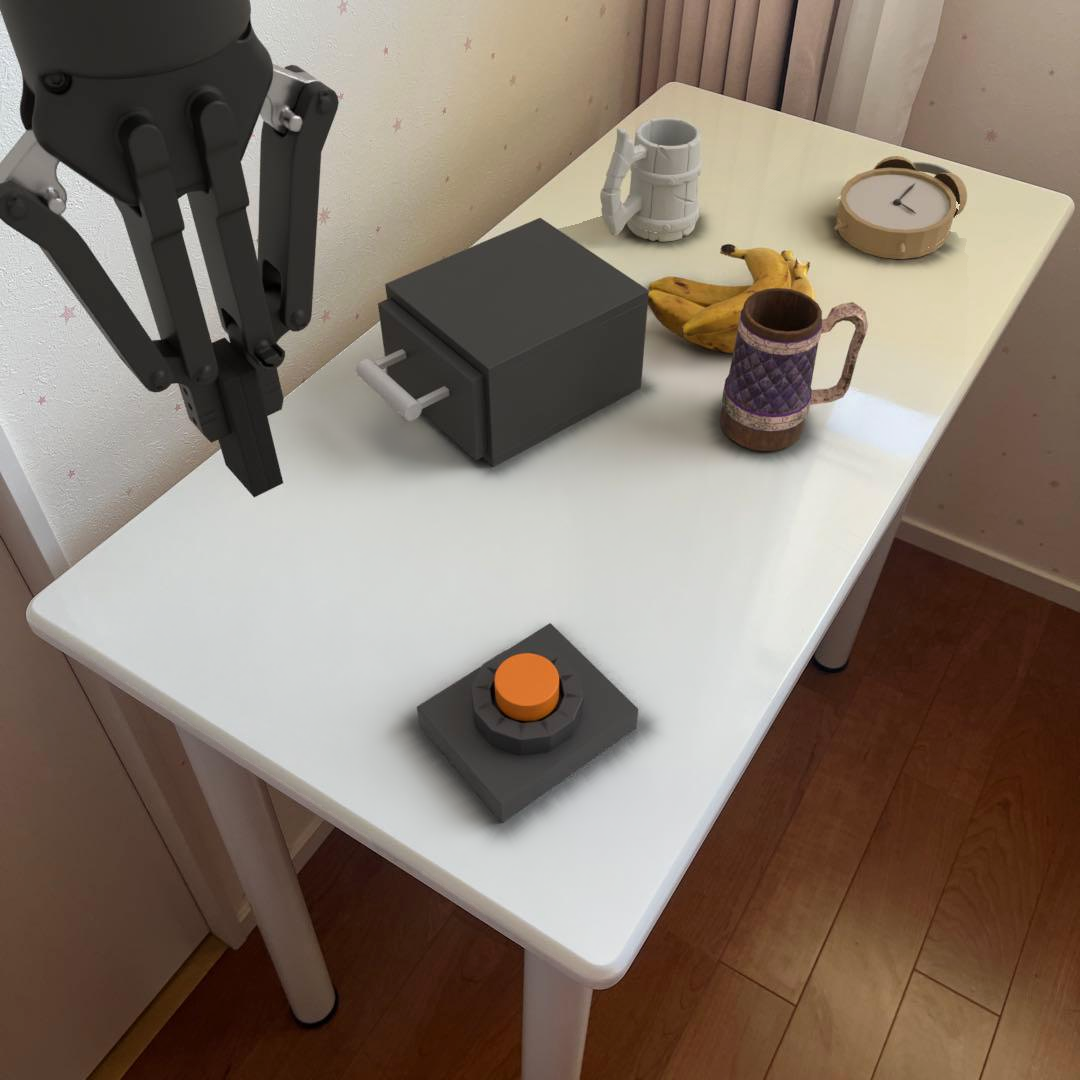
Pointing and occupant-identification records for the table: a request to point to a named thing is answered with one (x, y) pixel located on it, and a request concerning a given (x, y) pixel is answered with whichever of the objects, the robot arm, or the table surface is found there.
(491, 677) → the control block
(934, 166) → the alarm clock
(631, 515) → the table surface
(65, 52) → the robot arm
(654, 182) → the mug
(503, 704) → the button
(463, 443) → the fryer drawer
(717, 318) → the banana
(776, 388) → the mug
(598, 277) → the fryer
